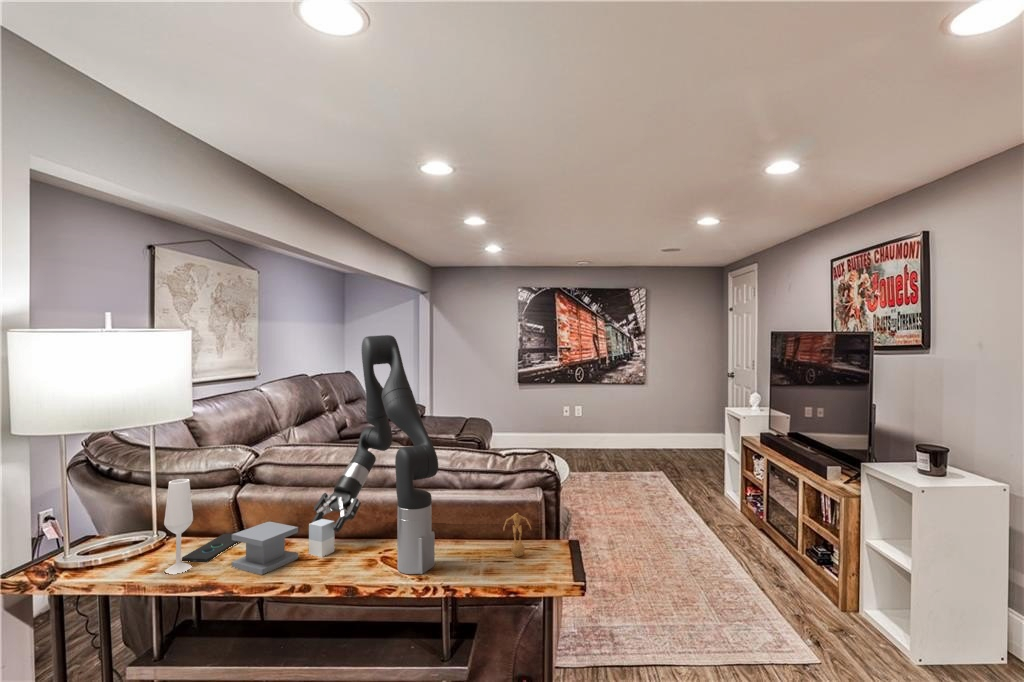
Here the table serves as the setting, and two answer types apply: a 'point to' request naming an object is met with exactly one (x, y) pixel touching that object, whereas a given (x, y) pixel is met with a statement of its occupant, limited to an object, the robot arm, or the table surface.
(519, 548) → the figurine
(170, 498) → the champagne flute
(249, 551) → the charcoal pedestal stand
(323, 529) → the block
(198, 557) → the smart home device
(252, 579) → the table surface
